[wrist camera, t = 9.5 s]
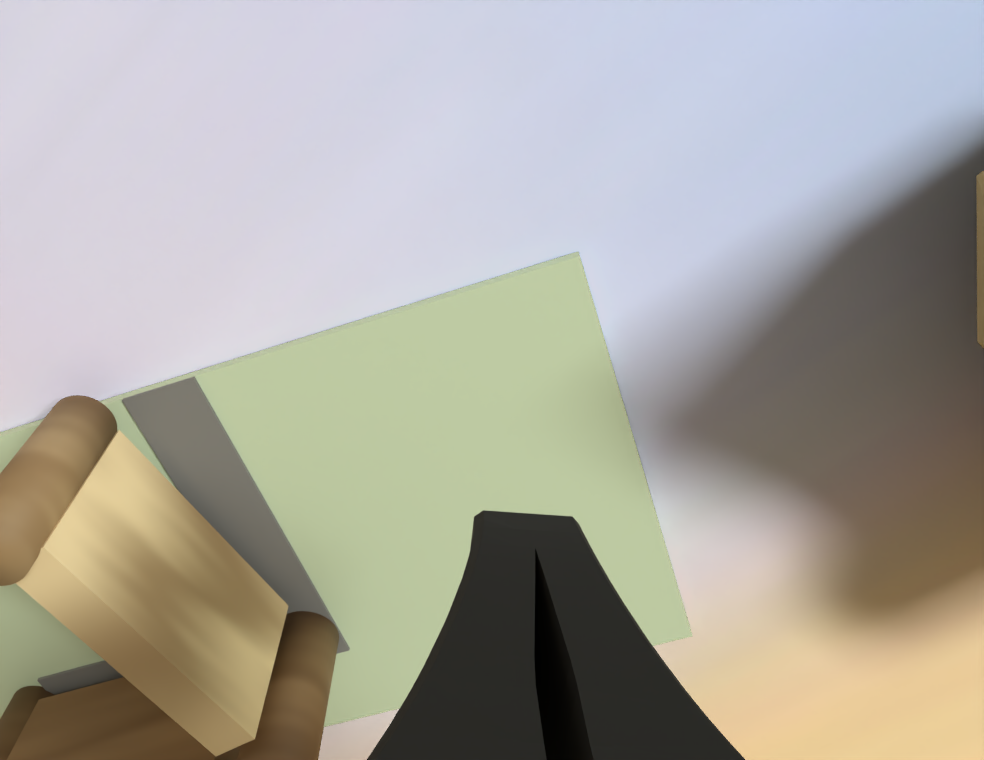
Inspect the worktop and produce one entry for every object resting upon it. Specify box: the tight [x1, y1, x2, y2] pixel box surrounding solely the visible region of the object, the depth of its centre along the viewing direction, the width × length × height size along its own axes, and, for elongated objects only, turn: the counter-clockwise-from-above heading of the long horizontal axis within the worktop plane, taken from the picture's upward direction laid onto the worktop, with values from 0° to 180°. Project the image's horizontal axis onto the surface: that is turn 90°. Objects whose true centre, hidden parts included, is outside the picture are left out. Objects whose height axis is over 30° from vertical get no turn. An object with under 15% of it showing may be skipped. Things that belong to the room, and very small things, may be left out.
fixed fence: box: [0, 611, 339, 760], centre depth 25 cm, size 2×11×6 cm, turn 108°
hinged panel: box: [0, 395, 288, 756], centre depth 21 cm, size 8×2×5 cm, turn 31°
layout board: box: [0, 252, 692, 727], centre depth 25 cm, size 13×22×1 cm, turn 108°
